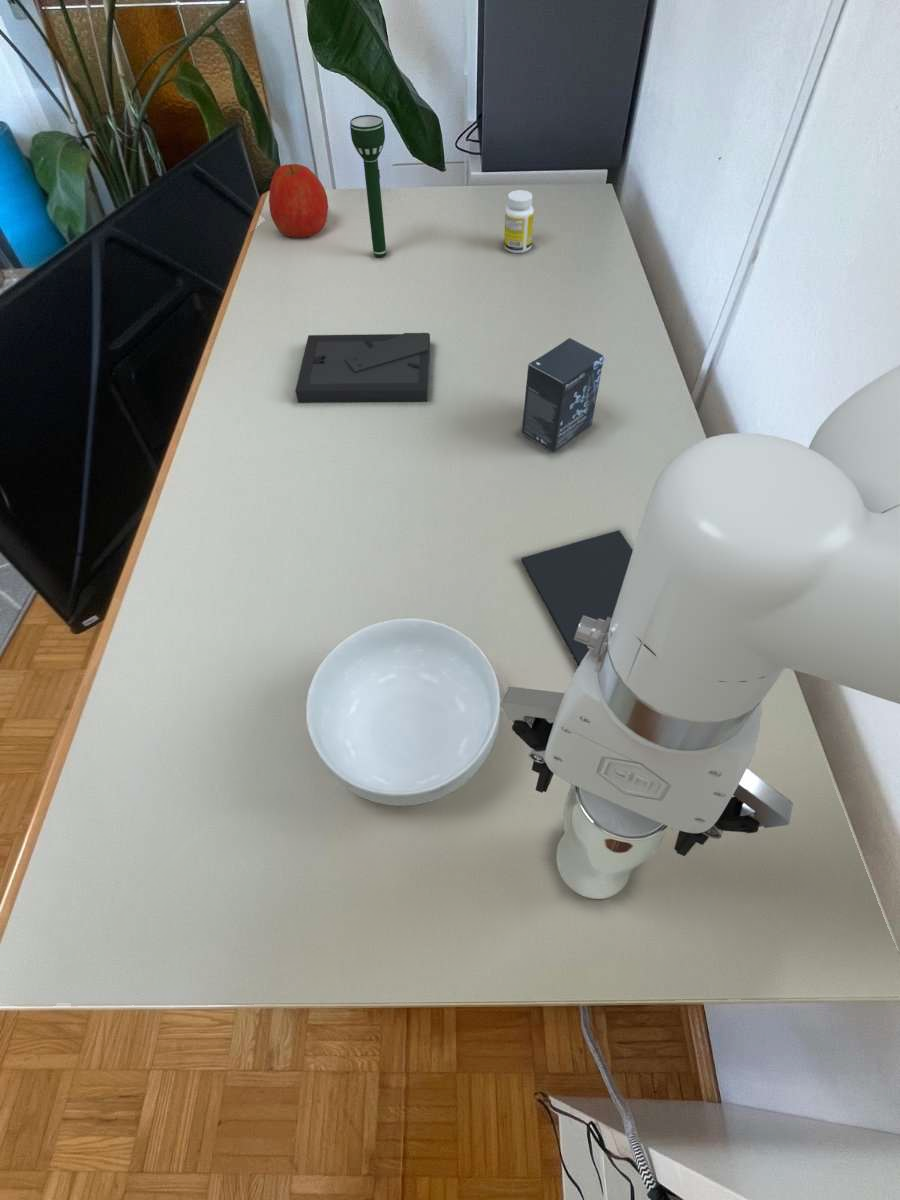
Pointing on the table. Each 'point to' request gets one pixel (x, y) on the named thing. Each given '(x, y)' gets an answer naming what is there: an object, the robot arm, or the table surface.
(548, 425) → the box
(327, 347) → the picture frame
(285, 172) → the apple
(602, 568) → the placemat
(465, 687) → the cereal bowl
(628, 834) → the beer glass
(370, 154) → the flashlight
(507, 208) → the supplement bottle
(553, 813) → the table surface
